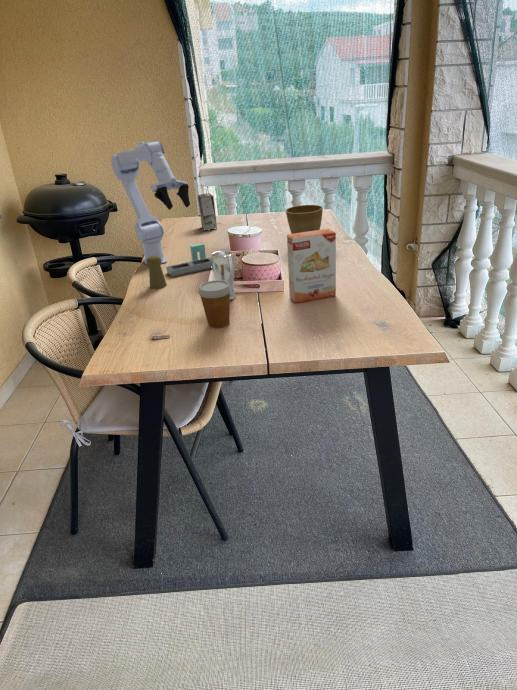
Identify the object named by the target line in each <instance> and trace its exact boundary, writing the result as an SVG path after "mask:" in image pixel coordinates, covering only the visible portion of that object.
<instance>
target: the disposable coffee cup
mask: <svg viewBox="0 0 517 690" xmlns="http://www.w3.org/2000/svg"><path fill="white" fill-rule="evenodd" d="M230 291H231V287H230V285H229V283H228V282H226V281H222V280H215V279H214V280H210V281H209V280H208V281H206V282H203V283H201V284H200V285H199V287H198V290H197V293H198V295H199V296H200V300H201V302H202V306H203V310H204V313H205V318H206V320H207V324H208V325H207V326H209V327H210V328H215V329H219V328H225V327H227V326H228V325H230V313H231V312H230V311H231V310H230V309H231V308H230V303H231V300H230Z"/></svg>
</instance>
